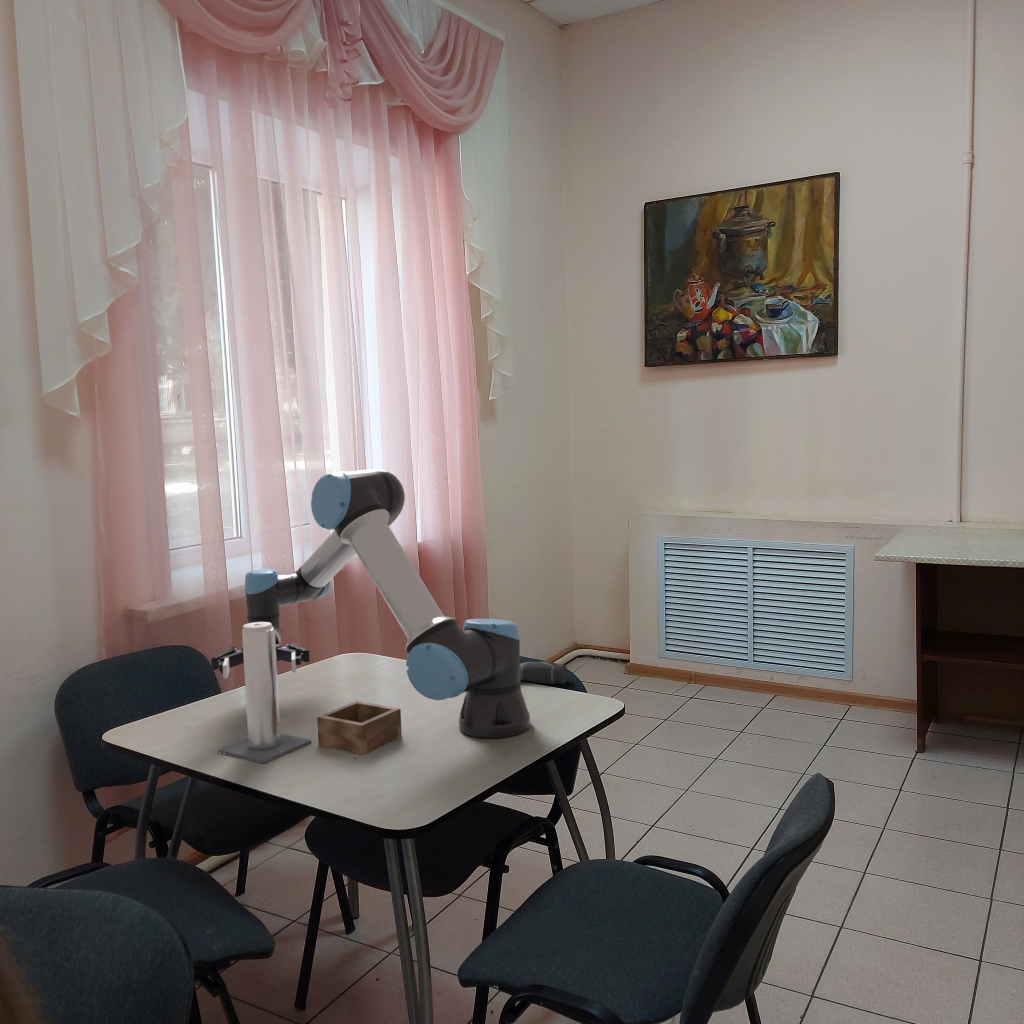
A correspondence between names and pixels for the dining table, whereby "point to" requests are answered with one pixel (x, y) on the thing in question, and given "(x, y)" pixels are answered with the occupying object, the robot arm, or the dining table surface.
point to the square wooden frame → (359, 727)
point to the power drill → (543, 672)
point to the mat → (266, 755)
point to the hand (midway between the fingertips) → (259, 668)
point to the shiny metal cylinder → (261, 685)
